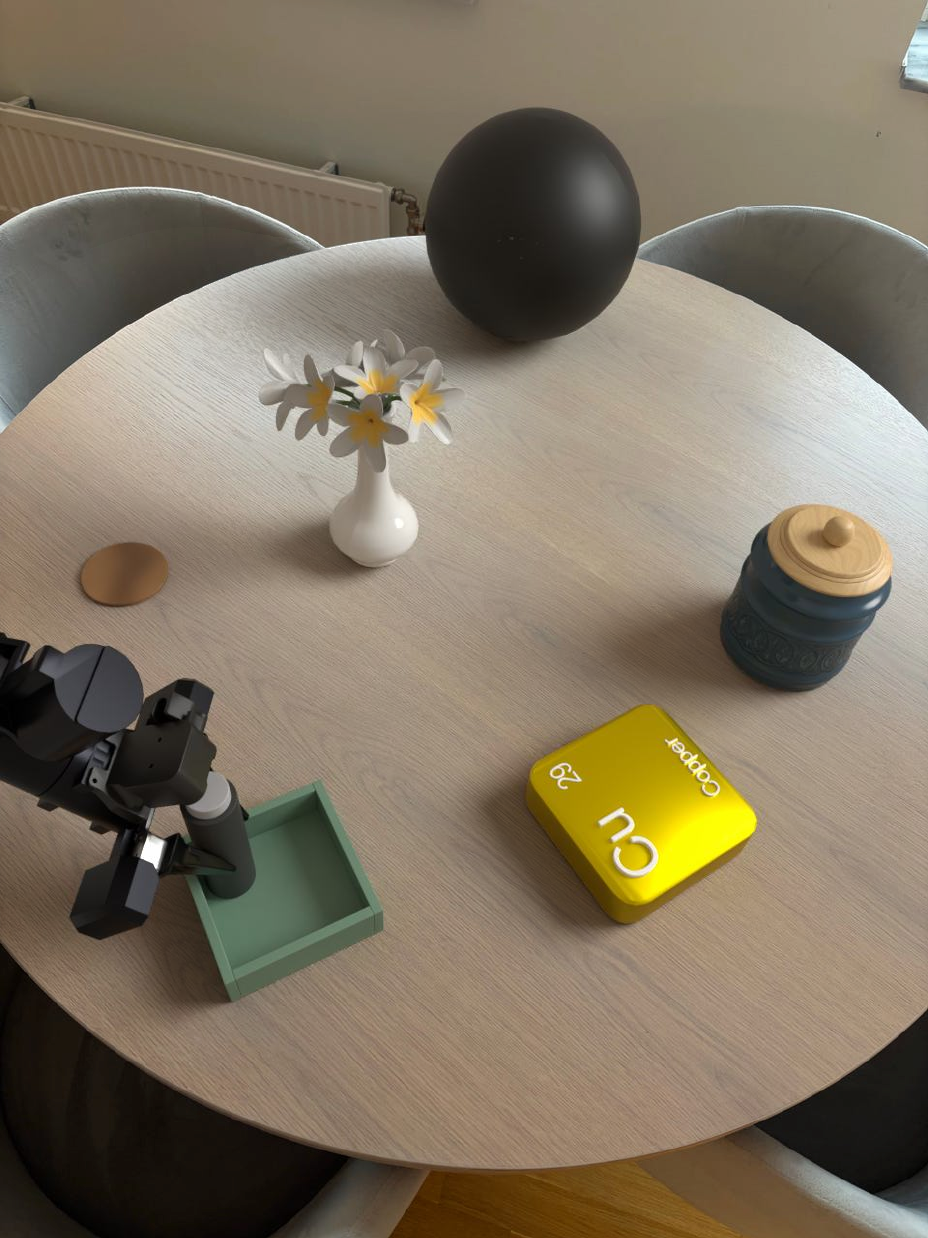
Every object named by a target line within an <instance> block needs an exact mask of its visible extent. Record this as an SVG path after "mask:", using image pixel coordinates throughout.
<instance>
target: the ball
mask: <svg viewBox="0 0 928 1238" xmlns="http://www.w3.org/2000/svg"><path fill="white" fill-rule="evenodd" d="M641 212H642V211H641V200H640V195H639V191H638V188H637V186H636V183H635V179H634V176H633V174H632V171H631V168H630V166H629V164H628V163H627V162H626V160H625V158H624V156H623V155H622V153H621V151H620V150H619V149H618V148H617V146H616V145H615V144H614V143H613V141H612V140H610V139H609V138H608V136H607V135H605V134H604V133H603V132H602V131H601V129H599V128H598V127H597V126H596V125H593V124H592V123H590V122H588V121H586V120H585V119H583V118H581V117H579V116H577V115H576V114H573V113H570V112H567V111H565V110H561V109H557V108H552V107H551V108H550V107H544V106H543V107H540V106H532V107H523V108H518V109H513V110H508V111H505V112H502V113H498V114H496V115H494V116H492V117H490V118H488V119H487V120H485V121H483V122H482V123H480V124H478V125H477V126H475V127H473V128H472V129H471V130H469V131H468V132H466V134H465V135H464V136H463V137H462V138H461V139H460V140H459V141H457V143H456V144H455V145H454V146H453V147H452V149H451V150H450V151H449V153H448V154H447V155H446V157H445V159H444V160H443V162H442V164H441V165H440V167H439V168H438V170H437V172H436V174H435V177H434V180H433V183H432V186H431V188H430V191H429V195H428V198H427V201H426V208H425V217H424V232H425V246H426V253H427V257H428V261H429V264H430V267H431V271H432V273H433V276H434V278H435V280H436V282H437V284H438V286H439V287H440V289H441V291H442V293H443V295H444V297H445V298H446V299H447V300H448V302H450V304H451V305H452V306H453V307H454V308H455V309H456V310H457V311H458V313H460V314H461V315H462V317H464V318H465V319H466V320H467V321H469V322H470V323H471V324H473V325H475V326H476V327H478V328H480V329H481V330H483V331H485V332H488V333H489V334H492V335H494V336H497V337H499V338H502V339H507V340H510V341H515V342H516V341H517V342H541V341H547V340H552V339H556V338H559V337H564V336H567V335H570V334H571V333H574V332H576V331H579V329H581V328H583V327H584V326H586V325H587V324H589V323H590V322H592V321H594V320H595V319H596V318H598V317H599V316H600V315H601V314H602V313H603V312H604V311H605V310H606V309H607V308H608V307H609V305H611V303H612V302H613V301H614V300H615V299H616V297H617V296H619V294H620V292H621V291H622V289H623V287H624V285H625V284H626V282H627V281H628V279H629V276H630V275H631V271H632V269H633V266H634V264H635V260H636V258H637V255H638V252H639V249H640V241H641V240H640V239H641V231H642V213H641Z"/></svg>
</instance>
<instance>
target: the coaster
mask: <svg viewBox="0 0 928 1238" xmlns="http://www.w3.org/2000/svg"><path fill="white" fill-rule="evenodd" d="M168 565H169V564H168V563H167V559H166V558H165V556H164V554H163V553H162V552H161V551H160V550H159V549H157V548H156V547H154V546H152V545H150V544H146V543H142V542H138V541H137V542H135V541H128V542H119V543H115V544H112V545H109V546H106V547H104V548H102V549H101V550H98V551H97V552H96V553H94V554H93V555H92V556H91V557H90V558H89V559H88V560H87V561H86V563H85V564H84V566H83V568H82V571H81V576H80V582H81V586H82V589H83V591H84V592H85V593H86V595H87V597H89V598H90V599H91V600H93V601H94V602H96V603H98V604H100V605H103V606H106V607H117V608H118V607H119V608H120V607H130V606H134V605H137V604H141V603H143V602H145V601H148V599H150V598H152V597H154V595H157V593H158V592H159V591H160V590H161V589H162V588H163V586H164V585H165V583H166V581H167V579H168V575H169V568H168V567H169V566H168Z"/></svg>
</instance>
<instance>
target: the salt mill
mask: <svg viewBox="0 0 928 1238" xmlns="http://www.w3.org/2000/svg"><path fill="white" fill-rule="evenodd" d="M240 804H241V803H240V799H239V796H238V792H237V788H236V787H235V785H234V783H233V782H232V781H231V780H229V779H228V778H226V777H225V776H224V775H222V774H221V773H219V772H216V771H214V772H211V771H209V774H208V778H207V789H206V792H205V794H204V796H203V797H202V798H201V799H200V800H199V801H198V802H196V803H195V804H192V805H187V806H184V805H178V806H179V810H180V813H181V816H182V819H183V822H184V824H185V828H186V830H187V832H188V833H187V834H189V836H190V839H191V842H192V844H193V847H195V848H197V849H200V850H202V851H205V852H207V853H210V854H212V855H215V856H217V857H220V858H222V859H224V860H226V861H228V862H229V863H231V864H233V865H234V866H236V867H237V869H236V872H235V873H232V874H229V875H204V878H205V881H206V884H207V886H208V888H209V890H210V891H211V892H212V893H213V894H214V895H216V896H217V897H220V898H224V899H232V898H236V897H239V896H241V895H243V894H244V893H246V892H247V891H248V890H249V889H250V888H251V886H252V885H253V883H254V881H255V877H256V868H255V864H254V860H253V856H252V852H251V848H250V844H249V840H248V836H247V832H246V828H245V824H244V819H243V815H242V811H241V807H240Z"/></svg>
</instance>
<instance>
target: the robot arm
mask: <svg viewBox="0 0 928 1238" xmlns="http://www.w3.org/2000/svg"><path fill="white" fill-rule="evenodd" d="M31 647H32V646H31V643H29V641H27V640H24V639H18V638H12V637H8V636H7V635H6V633H5V632H4V631H3V632H2V631H0V782H2V783H5V784H7V785H9V786H11V787H13V788H16V789H18V790H20V791H22V792H25V793H27V794H29V795H31V796H34V797H36V798H38V802H37V804H36V807H37V808H39V809H42V810H44V811H47V812H48V813H51V812H53V811H54V810H57V809H59V808H60V809H62V810H65V811H67V812H69V813H71V814H73V815H75V816H78V817H80V818H82V819H84V820H87V821H88V822H91V823H90V826H89V831H91V832H93V833H96V834H98V835H100V836H103V835H105V834H107V833H110V832H113V833H115V834H116V837H115V840H114V843H113V846H112V849H111V852H110V855H109V857H108V860H106V861H104V862H102V863H99V864H96V865H94V866H92V867H90V868H88V869H85V871H84V873H83V876H82V879H81V882H80V884H79V887H78V889H77V890H78V891H77V894H76V896H75V899H74V902H73V905H72V908H71V911H70V913H69V917H68V918H69V920H70V922H71V923H72V925H73V927H74V928H75V930H76V932H77V933H78V934H80V935H84V936H86V937H89V938H92V939H93V940H94V939H95V940H97V941H101V940H104V939H108V938H111V937H114V936H116V935H120V934H123V933H125V932H129V931H131V930H134V929H137V928H140V927H142V926H143V925H144V923H145V922H146V921H147V920H148V918H149V917H150V914H151V910H152V907H153V904H154V900H155V897H156V893H157V891H158V887H159V883H160V880H161V879H164V878H166V877H167V876H185V875H229V874H232V873H235V872H236V869H237V867H236V866H234V865H233V864H231V863H229V862H228V861H226V860H224V859H222V858H220V857H217V856H215V855H212V854H210V853H207V852H205V851H202V850H200V849H197V848H195V847H192V846H190V845H187V844H186V843H185V842H184V840H183V838H182V837H183V835H182V834H181V833H180V832H176V833H173V834H171V835H168V836H166V837H164V838H163V837H162V836H160V835H157V834H156V833H153V832H152V831H150V828H151V825H152V822H153V818H154V815H155V813H156V809H157V808H165V807H166V808H167V807H173V806H179V805H184V806H187V805H192V804H195V803H196V802H198V801H199V800H200V799H201V798H202V797H203V796H204V794H205V792H206V789H207V778H208V774H209V771H211V772H215V770H214V769H213V767H212V763H213V761H214V760H215V759H216V756H217V752H218V751H217V746H216V745H215V744H214V743H213V742H212V740H210V738H209V736H208V734H207V733H206V732H205V728H206V725H207V722H208V716H209V713H210V709H211V705H212V702H213V699H214V695H215V691H214V690H213V689H212V688H211V687H210V686H208V685H206V684H205V683H204V682H203V683H202V682H201V681H199V680H198V679H196V678H190V677H189V678H188V677H182V678H177V679H176V680H174V681H173V682H171V683H169V684H167V685H165V686H164V687H161V688H160V689H158V690H157V691H155V692H153V693H151V694H150V695H148V696H146V697H145V692H144V686H143V685H144V684H143V682H142V678H141V676H140V673H139V672H138V670H137V668H136V666H135V665H134V664H133V662H132V661H131V660H130V659H129V658H128V657H127V656H126V655H125V654H124V653H122V652H121V651H119V649H116V648H114V647H113V646H110V645H103V644H97V643H83V644H80V645H77V646H74V647H73V648H71V649H69V650H68V651H66V652H63V651H60V650H59V649H58V648H56V647H54V646H52V645H50V644H44V645H43V646H42V647H40V648H39V649H37V650H36V651H35V652H33V655H32V657H31V658H29V659H28V660H27V661H25V659H26V657H27V655H28V653H29V650H30V648H31ZM24 661H25V662H24ZM135 721H136V724H135V727H134V729H132V728H131V729H130V728H128V727H129V726H131V725H132V724H133V723H134V722H135ZM240 807H241V811H242V815H243V819H244V822H245V821H247V820H248V819H249V814H248V813H247V812H246V810H247V809H245V808H244V807H243V806H242V804H241V803H240Z"/></svg>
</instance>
